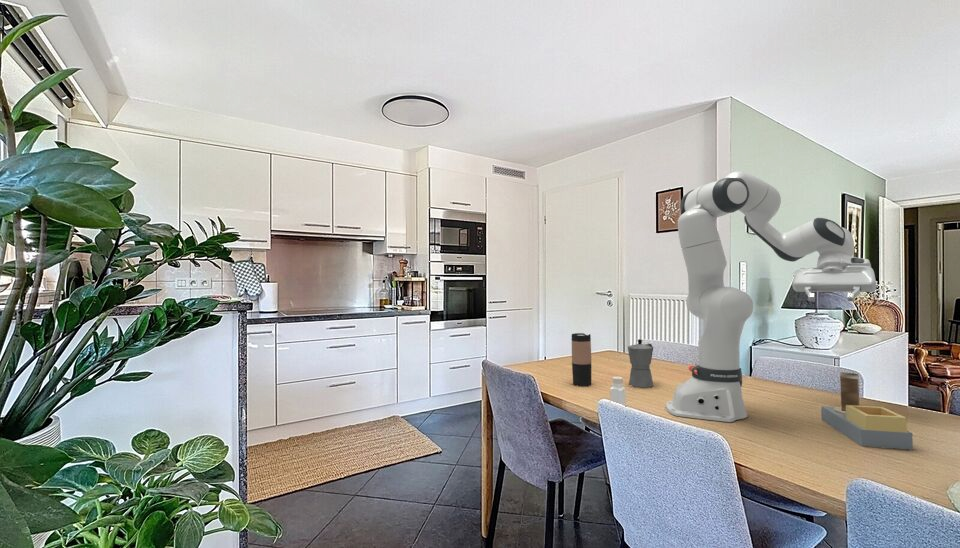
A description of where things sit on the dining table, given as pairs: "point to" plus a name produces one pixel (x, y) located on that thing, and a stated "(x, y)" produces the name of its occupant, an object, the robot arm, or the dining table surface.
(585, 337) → the travel mug
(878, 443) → the grey and tan block
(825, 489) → the dining table surface
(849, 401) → the brown rectangular block
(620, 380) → the salt shaker
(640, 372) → the coffeepot
